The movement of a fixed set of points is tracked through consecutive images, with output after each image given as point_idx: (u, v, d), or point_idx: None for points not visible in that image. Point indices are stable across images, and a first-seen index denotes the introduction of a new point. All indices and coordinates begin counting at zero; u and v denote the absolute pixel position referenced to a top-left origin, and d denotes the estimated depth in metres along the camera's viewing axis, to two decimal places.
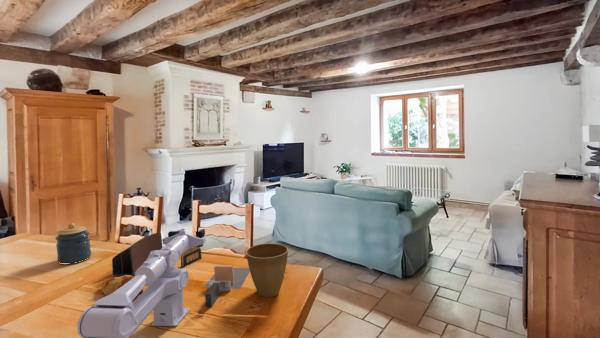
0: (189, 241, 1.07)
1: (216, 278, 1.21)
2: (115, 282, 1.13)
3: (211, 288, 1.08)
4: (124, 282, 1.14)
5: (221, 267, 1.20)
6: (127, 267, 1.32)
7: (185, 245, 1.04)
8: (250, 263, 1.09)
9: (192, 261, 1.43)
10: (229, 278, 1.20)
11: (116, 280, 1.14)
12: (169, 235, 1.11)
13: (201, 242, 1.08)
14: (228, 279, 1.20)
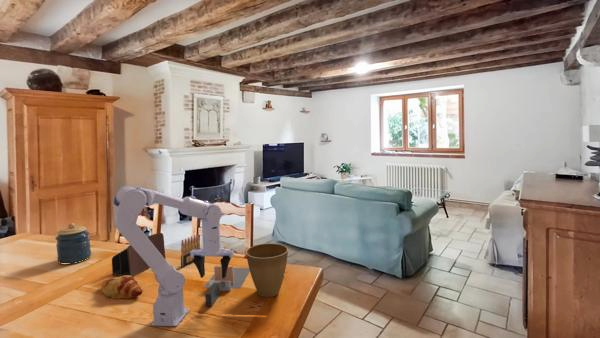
0: (220, 248, 1.09)
1: (216, 278, 1.21)
2: (114, 282, 1.13)
3: (211, 288, 1.08)
4: (123, 282, 1.14)
5: (221, 267, 1.20)
6: (126, 267, 1.32)
7: (219, 239, 1.08)
8: (249, 263, 1.09)
9: (192, 261, 1.43)
10: (229, 278, 1.20)
11: (116, 280, 1.14)
12: None
13: None
14: (228, 279, 1.20)
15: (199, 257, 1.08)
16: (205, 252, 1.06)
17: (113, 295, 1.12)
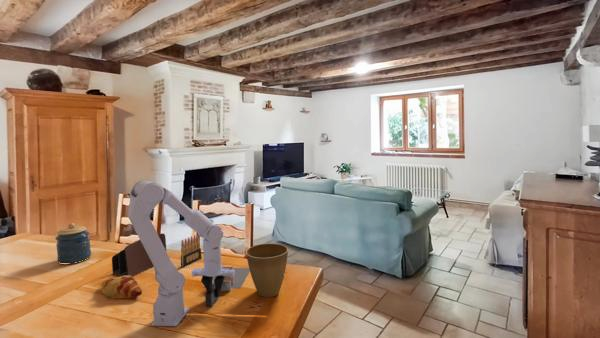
0: (221, 267, 1.10)
1: None
2: (114, 282, 1.13)
3: (211, 288, 1.08)
4: (123, 282, 1.14)
5: None
6: (125, 267, 1.33)
7: (220, 259, 1.09)
8: (250, 263, 1.09)
9: (192, 261, 1.43)
10: (229, 278, 1.20)
11: (115, 280, 1.14)
12: None
13: None
14: (228, 279, 1.20)
15: None
16: (206, 272, 1.07)
17: (113, 295, 1.12)
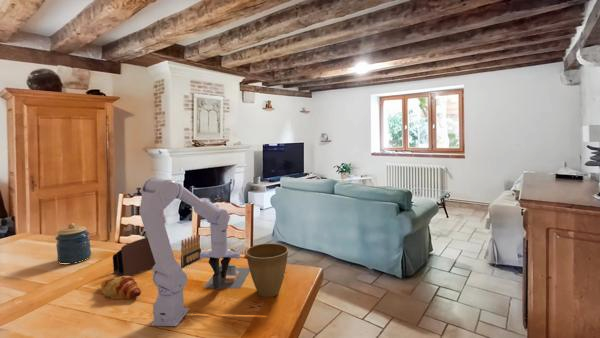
0: (227, 250, 1.16)
1: None
2: (113, 283, 1.13)
3: (218, 271, 1.15)
4: (122, 283, 1.13)
5: None
6: None
7: None
8: (250, 263, 1.09)
9: (192, 261, 1.43)
10: (232, 276, 1.24)
11: (114, 281, 1.14)
12: None
13: None
14: (231, 276, 1.24)
15: None
16: (213, 254, 1.14)
17: (112, 295, 1.12)
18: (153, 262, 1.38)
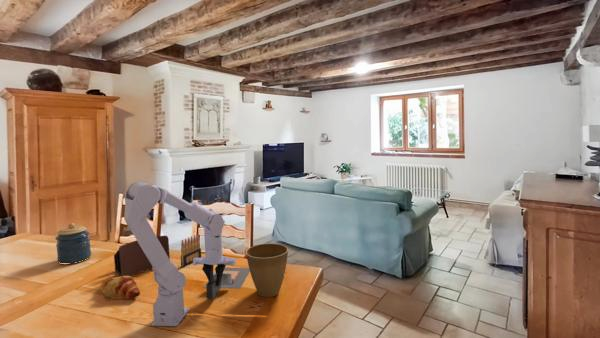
0: (222, 256, 1.11)
1: None
2: (113, 283, 1.13)
3: (212, 279, 1.10)
4: (122, 283, 1.13)
5: (228, 271, 1.29)
6: None
7: (221, 247, 1.10)
8: (250, 263, 1.09)
9: (192, 261, 1.43)
10: (232, 276, 1.24)
11: (114, 281, 1.14)
12: None
13: None
14: None
15: None
16: (207, 260, 1.08)
17: (111, 295, 1.12)
18: None
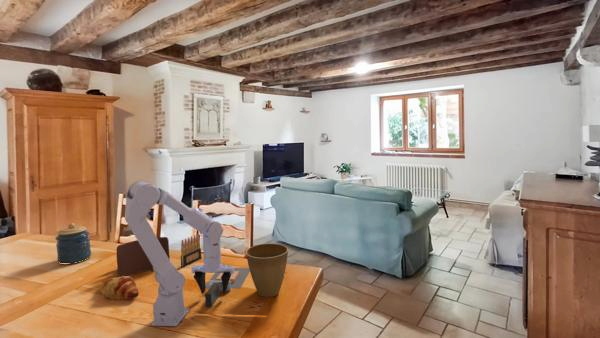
0: (221, 264, 1.09)
1: (220, 276, 1.25)
2: (112, 283, 1.13)
3: (211, 288, 1.08)
4: (121, 283, 1.13)
5: None
6: None
7: (220, 255, 1.09)
8: (250, 263, 1.09)
9: (192, 261, 1.43)
10: (232, 276, 1.24)
11: (113, 281, 1.13)
12: None
13: None
14: (231, 276, 1.24)
15: (200, 273, 1.09)
16: (206, 268, 1.07)
17: (110, 296, 1.11)
18: (151, 264, 1.36)
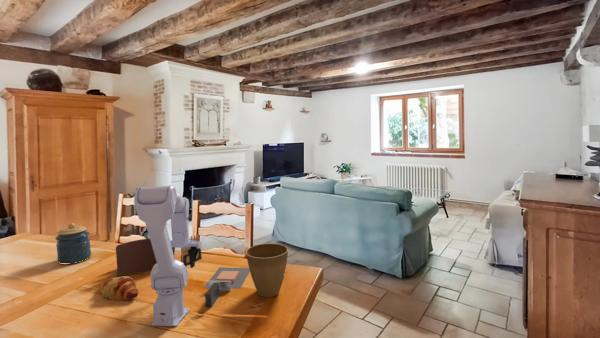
0: (188, 239, 1.15)
1: (220, 276, 1.25)
2: (111, 283, 1.13)
3: (211, 288, 1.08)
4: (120, 283, 1.13)
5: (228, 271, 1.29)
6: None
7: (188, 231, 1.15)
8: (250, 263, 1.09)
9: None
10: (232, 276, 1.24)
11: (113, 281, 1.13)
12: None
13: None
14: (231, 276, 1.24)
15: None
16: (173, 243, 1.13)
17: (109, 296, 1.11)
18: (150, 265, 1.36)
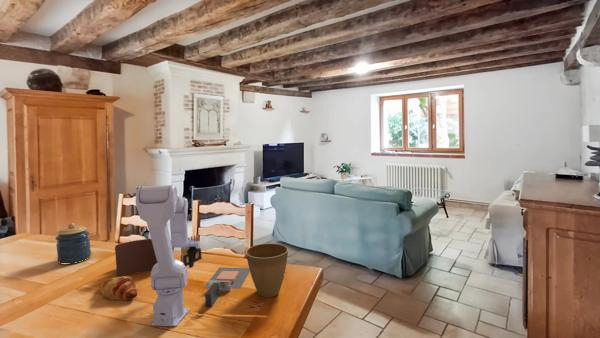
0: (187, 239, 1.15)
1: (220, 276, 1.25)
2: (111, 283, 1.12)
3: (211, 288, 1.08)
4: (120, 284, 1.13)
5: (228, 271, 1.29)
6: None
7: (187, 231, 1.15)
8: (250, 263, 1.09)
9: None
10: (232, 276, 1.24)
11: (112, 281, 1.13)
12: None
13: None
14: (231, 276, 1.24)
15: None
16: (172, 243, 1.13)
17: (109, 296, 1.11)
18: (149, 265, 1.35)
